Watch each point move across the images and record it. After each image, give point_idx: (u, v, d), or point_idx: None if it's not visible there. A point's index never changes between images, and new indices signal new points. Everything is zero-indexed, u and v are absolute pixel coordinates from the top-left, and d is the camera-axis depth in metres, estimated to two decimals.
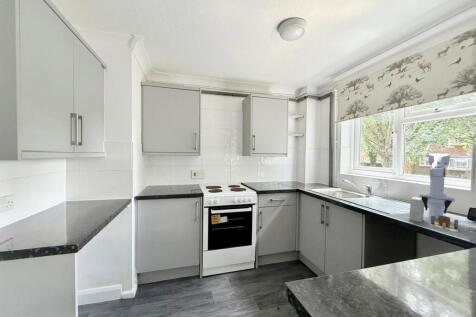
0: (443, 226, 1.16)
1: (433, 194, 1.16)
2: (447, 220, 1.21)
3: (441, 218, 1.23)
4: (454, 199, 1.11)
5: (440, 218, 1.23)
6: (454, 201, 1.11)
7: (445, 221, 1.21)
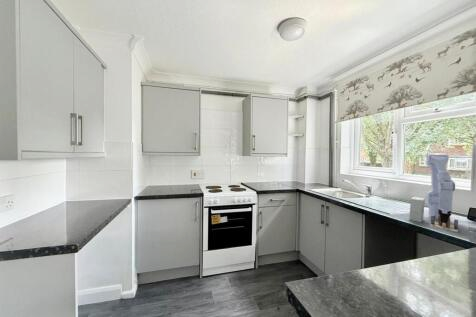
0: (443, 226, 1.16)
1: None
2: None
3: None
4: (442, 210, 1.19)
5: (440, 218, 1.23)
6: (444, 213, 1.18)
7: None
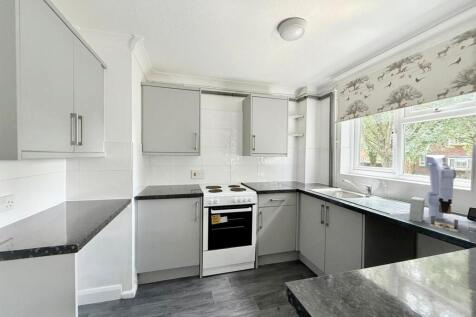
0: (443, 226, 1.16)
1: None
2: None
3: None
4: (443, 198, 1.18)
5: None
6: (445, 200, 1.18)
7: None
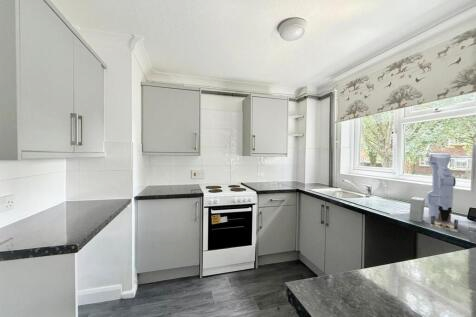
0: (443, 226, 1.16)
1: None
2: (448, 217, 1.16)
3: None
4: (443, 206, 1.14)
5: (440, 215, 1.19)
6: (445, 209, 1.14)
7: None
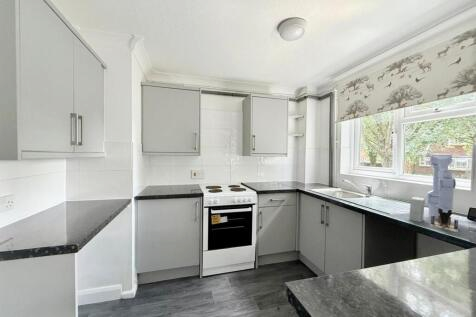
0: (443, 226, 1.16)
1: None
2: (448, 220, 1.14)
3: None
4: (442, 209, 1.12)
5: (440, 218, 1.16)
6: (444, 212, 1.11)
7: None
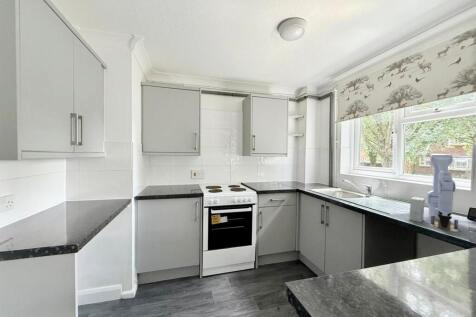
0: None
1: None
2: None
3: None
4: (442, 212, 1.12)
5: None
6: (444, 215, 1.11)
7: None
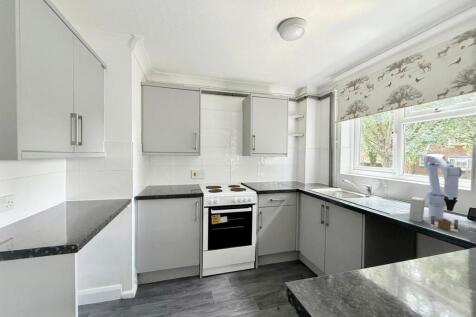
0: None
1: None
2: (447, 224, 1.14)
3: (441, 221, 1.16)
4: (448, 196, 1.16)
5: (440, 221, 1.16)
6: (450, 199, 1.16)
7: (445, 224, 1.14)
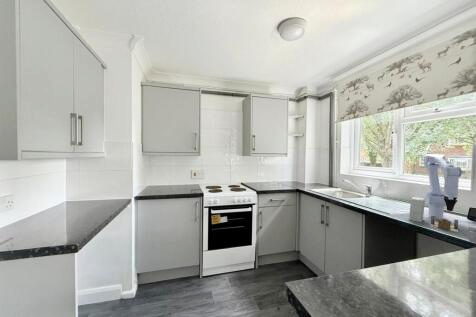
0: None
1: None
2: (447, 224, 1.14)
3: (441, 221, 1.16)
4: (448, 196, 1.16)
5: (440, 221, 1.16)
6: (450, 199, 1.16)
7: (445, 224, 1.14)
